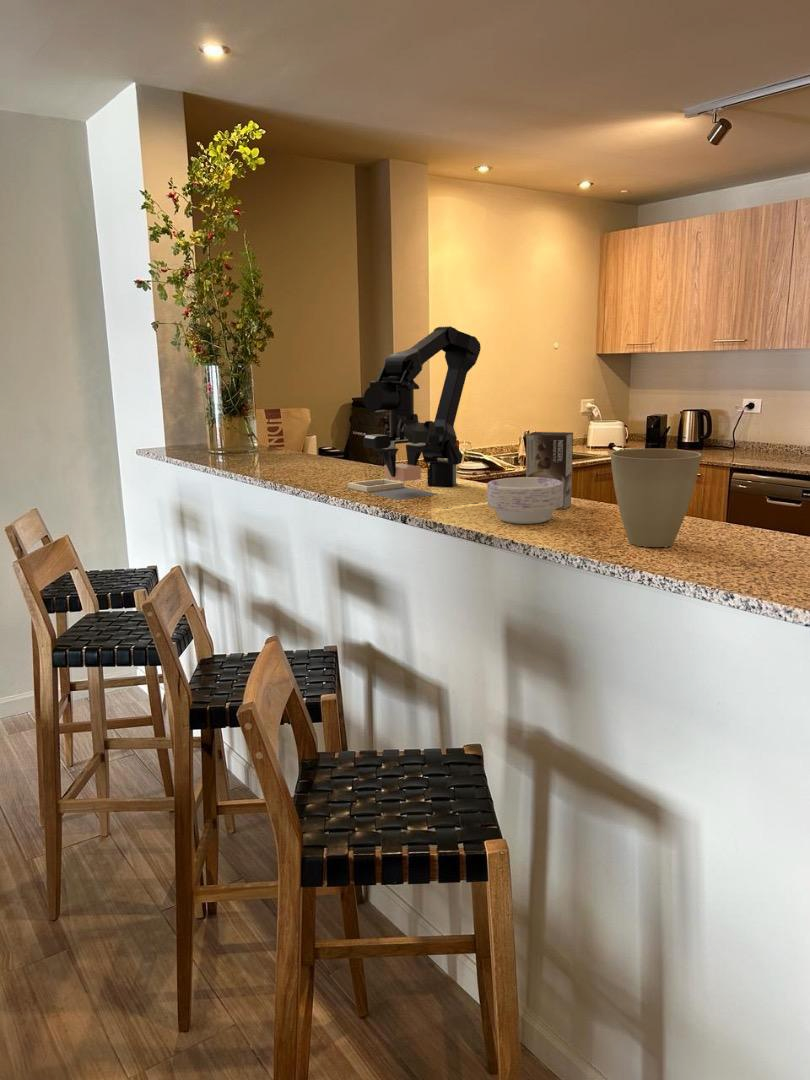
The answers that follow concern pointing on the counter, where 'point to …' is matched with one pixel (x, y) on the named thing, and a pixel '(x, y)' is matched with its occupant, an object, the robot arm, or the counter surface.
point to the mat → (388, 489)
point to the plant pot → (653, 492)
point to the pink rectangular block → (404, 472)
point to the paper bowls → (525, 499)
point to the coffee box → (551, 459)
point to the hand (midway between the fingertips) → (402, 475)
